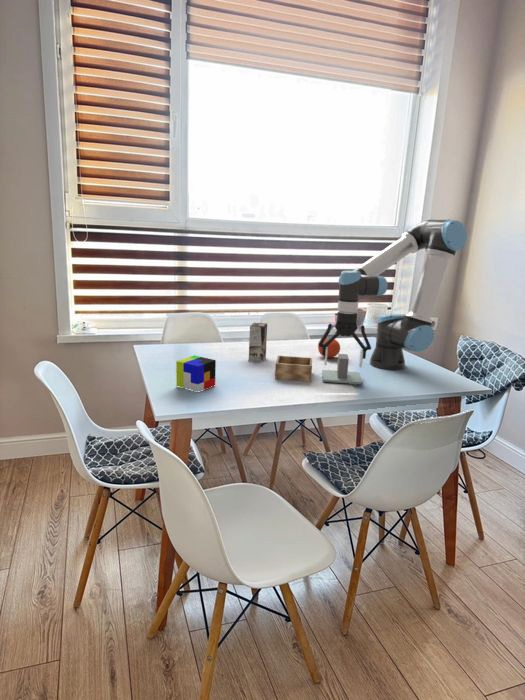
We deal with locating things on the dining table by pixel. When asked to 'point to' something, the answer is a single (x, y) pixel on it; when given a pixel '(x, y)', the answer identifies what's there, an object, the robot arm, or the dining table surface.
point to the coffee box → (257, 342)
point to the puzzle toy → (195, 373)
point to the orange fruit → (331, 348)
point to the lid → (342, 373)
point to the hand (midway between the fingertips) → (342, 365)
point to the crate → (293, 368)
